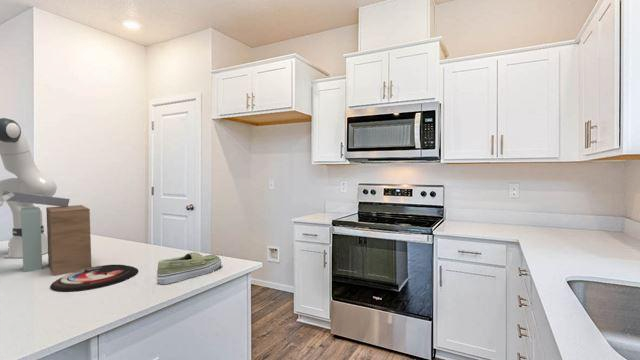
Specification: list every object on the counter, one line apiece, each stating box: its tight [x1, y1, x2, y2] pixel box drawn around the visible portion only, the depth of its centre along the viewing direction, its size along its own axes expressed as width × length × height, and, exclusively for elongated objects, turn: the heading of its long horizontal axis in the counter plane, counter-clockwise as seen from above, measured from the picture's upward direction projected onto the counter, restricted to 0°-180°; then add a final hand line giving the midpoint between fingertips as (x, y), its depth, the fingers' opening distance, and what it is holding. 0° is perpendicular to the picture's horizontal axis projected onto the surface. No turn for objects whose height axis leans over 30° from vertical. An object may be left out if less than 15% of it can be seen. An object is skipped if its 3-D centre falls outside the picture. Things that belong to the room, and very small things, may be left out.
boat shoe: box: [156, 251, 222, 285], centre depth 135 cm, size 10×29×9 cm, turn 150°
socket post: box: [21, 206, 43, 273], centre depth 144 cm, size 8×6×26 cm
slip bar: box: [3, 191, 70, 207], centre depth 145 cm, size 4×22×4 cm, turn 128°
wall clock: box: [49, 264, 139, 293], centre depth 132 cm, size 27×5×30 cm
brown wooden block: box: [45, 204, 92, 276], centre depth 147 cm, size 22×13×26 cm, turn 43°
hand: (13, 193), depth 140 cm, fingers closed on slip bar, 4 cm apart
